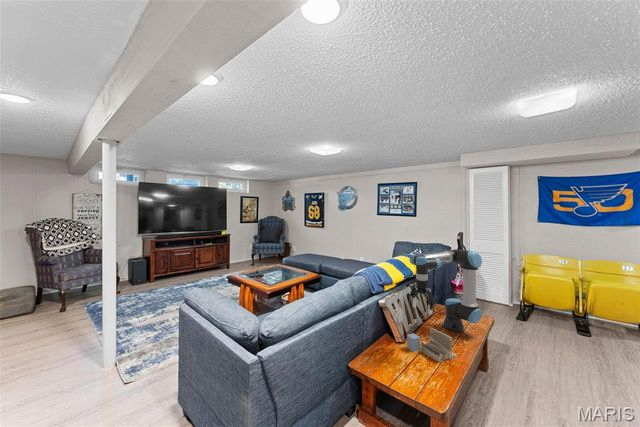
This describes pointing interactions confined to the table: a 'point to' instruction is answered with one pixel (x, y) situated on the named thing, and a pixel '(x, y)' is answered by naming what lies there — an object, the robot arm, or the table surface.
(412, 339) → the grey rectangular block
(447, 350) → the grey slotted stand
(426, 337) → the table surface
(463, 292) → the robot arm
